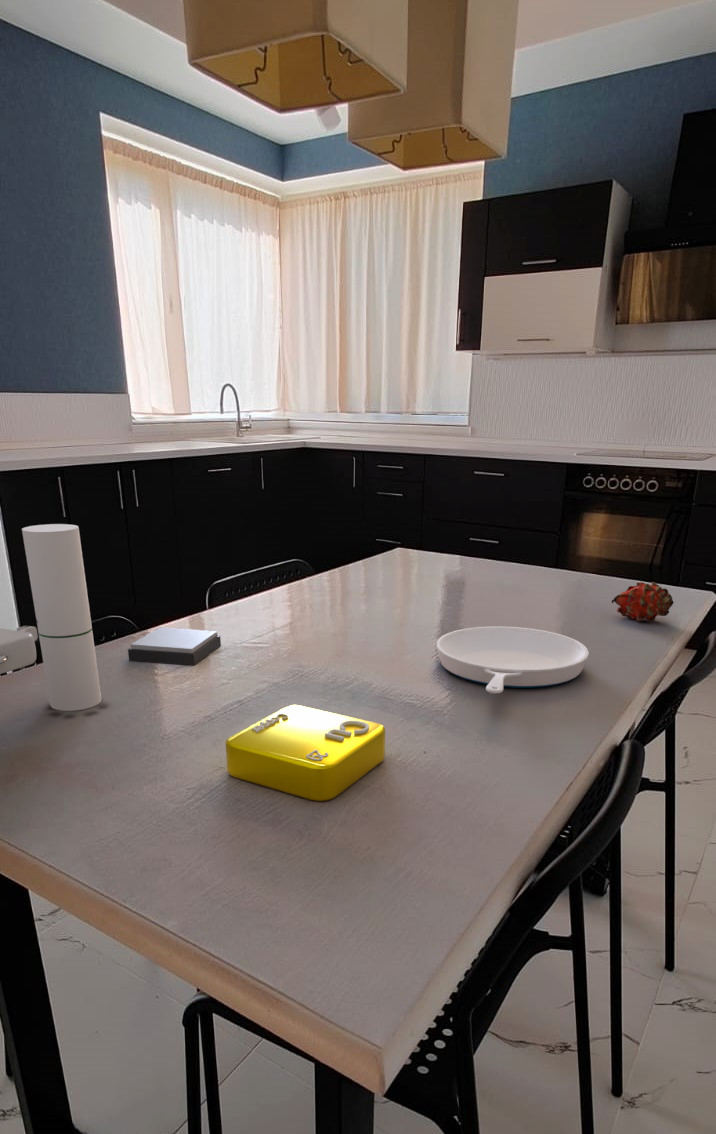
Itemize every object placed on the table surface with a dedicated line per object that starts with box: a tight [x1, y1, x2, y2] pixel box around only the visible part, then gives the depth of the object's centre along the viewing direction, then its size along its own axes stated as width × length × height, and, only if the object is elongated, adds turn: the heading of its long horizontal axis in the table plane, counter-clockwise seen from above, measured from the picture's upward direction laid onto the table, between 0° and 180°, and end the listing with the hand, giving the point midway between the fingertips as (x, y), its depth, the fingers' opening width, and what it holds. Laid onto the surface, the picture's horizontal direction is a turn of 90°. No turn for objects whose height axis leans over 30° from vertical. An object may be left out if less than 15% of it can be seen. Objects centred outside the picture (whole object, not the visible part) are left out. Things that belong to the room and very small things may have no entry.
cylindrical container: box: [21, 523, 102, 712], centre depth 108 cm, size 7×7×25 cm
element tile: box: [224, 704, 386, 802], centre depth 93 cm, size 15×15×5 cm
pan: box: [435, 625, 590, 694], centre depth 123 cm, size 25×38×5 cm, turn 164°
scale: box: [127, 627, 222, 666], centre depth 135 cm, size 12×12×3 cm
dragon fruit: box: [611, 581, 675, 623], centre depth 158 cm, size 8×8×12 cm
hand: (3, 628), depth 98 cm, fingers open, 8 cm apart
